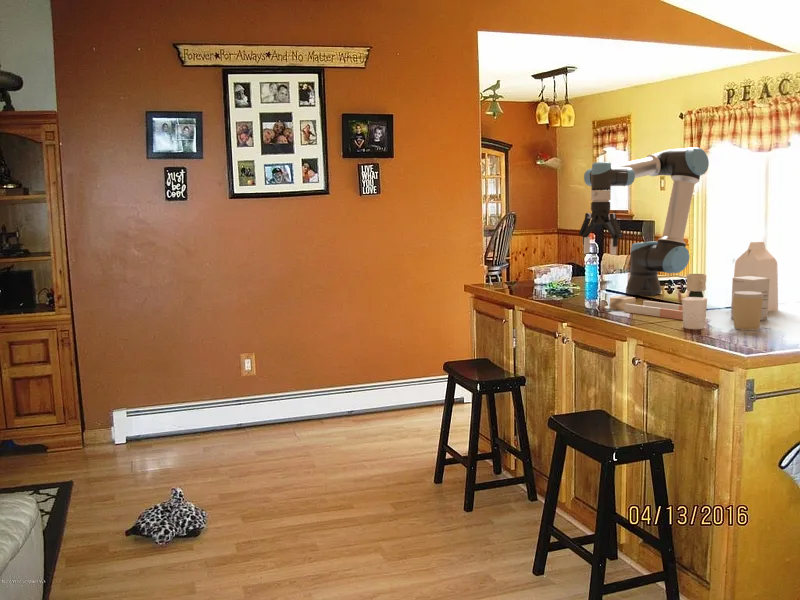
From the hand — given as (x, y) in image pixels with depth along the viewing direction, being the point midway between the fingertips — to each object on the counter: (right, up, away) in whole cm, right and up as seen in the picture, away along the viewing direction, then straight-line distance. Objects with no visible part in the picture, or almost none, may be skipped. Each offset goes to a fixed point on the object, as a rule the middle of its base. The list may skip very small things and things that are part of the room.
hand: (599, 254), depth 314 cm
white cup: (+19, -28, -51) cm, 61 cm away
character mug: (+36, -22, -8) cm, 43 cm away
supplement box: (+44, -26, -37) cm, 63 cm away
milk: (+55, -22, -16) cm, 62 cm away
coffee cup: (+35, -28, -54) cm, 70 cm away
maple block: (+7, -22, -7) cm, 24 cm away
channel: (+18, -24, -22) cm, 37 cm away
